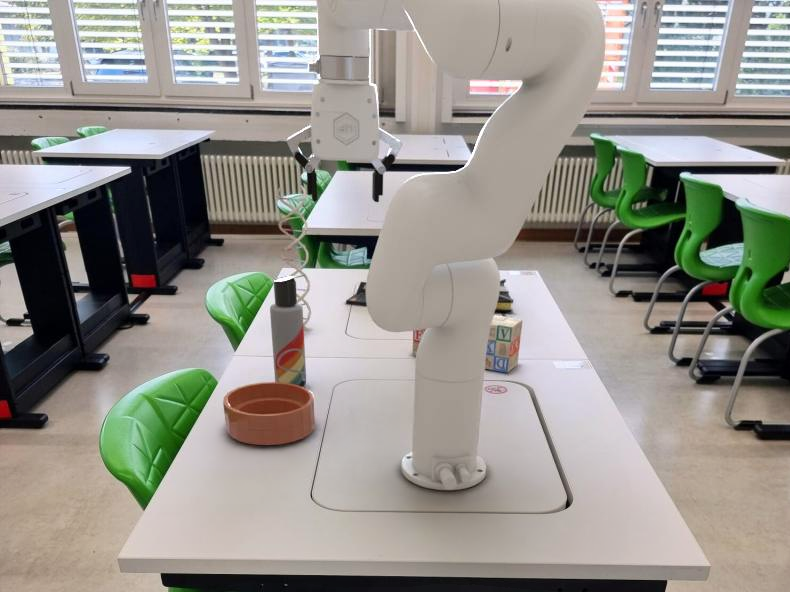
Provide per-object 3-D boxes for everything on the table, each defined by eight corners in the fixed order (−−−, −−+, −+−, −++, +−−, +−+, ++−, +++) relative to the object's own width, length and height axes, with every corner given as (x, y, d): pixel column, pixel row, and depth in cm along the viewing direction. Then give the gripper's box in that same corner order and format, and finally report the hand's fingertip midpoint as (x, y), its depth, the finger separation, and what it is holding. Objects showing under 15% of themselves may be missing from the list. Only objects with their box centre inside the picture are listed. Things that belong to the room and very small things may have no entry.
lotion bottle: (301, 395, 132) (295, 282, 122) (271, 392, 133) (262, 279, 123) (310, 384, 137) (305, 274, 126) (281, 381, 138) (274, 272, 127)
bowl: (317, 446, 115) (316, 413, 112) (225, 450, 113) (221, 417, 110) (311, 410, 127) (310, 380, 124) (228, 414, 124) (224, 383, 122)
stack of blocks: (518, 364, 149) (525, 303, 142) (507, 374, 144) (514, 311, 138) (424, 347, 157) (426, 288, 150) (411, 355, 152) (413, 295, 146)
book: (442, 290, 199) (443, 271, 196) (504, 292, 198) (506, 273, 196) (444, 312, 180) (446, 291, 178) (513, 314, 180) (515, 294, 177)
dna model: (299, 326, 168) (291, 183, 152) (318, 332, 164) (313, 186, 148) (277, 333, 163) (267, 185, 147) (297, 339, 160) (289, 189, 144)
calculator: (346, 303, 185) (346, 291, 183) (361, 293, 194) (361, 281, 193) (381, 307, 183) (381, 295, 181) (394, 296, 192) (395, 284, 191)
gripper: (284, 70, 101) (290, 204, 110) (407, 74, 103) (402, 205, 113) (283, 68, 107) (289, 195, 117) (399, 73, 109) (396, 196, 119)
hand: (345, 200), depth 115 cm, fingers open, 9 cm apart
